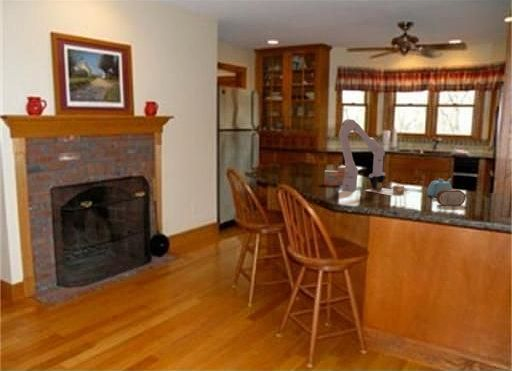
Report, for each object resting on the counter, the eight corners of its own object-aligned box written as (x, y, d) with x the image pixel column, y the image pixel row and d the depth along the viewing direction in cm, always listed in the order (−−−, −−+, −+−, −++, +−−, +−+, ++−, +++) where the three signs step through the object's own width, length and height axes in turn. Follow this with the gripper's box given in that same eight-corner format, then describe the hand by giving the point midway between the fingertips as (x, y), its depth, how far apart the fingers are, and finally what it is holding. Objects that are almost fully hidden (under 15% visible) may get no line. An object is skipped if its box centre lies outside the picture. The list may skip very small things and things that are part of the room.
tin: (462, 204, 237) (464, 189, 236) (465, 206, 234) (467, 190, 233) (435, 204, 237) (436, 189, 235) (437, 205, 234) (439, 190, 232)
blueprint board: (410, 193, 266) (410, 192, 266) (395, 196, 256) (395, 195, 256) (379, 188, 283) (379, 187, 283) (364, 191, 273) (364, 190, 273)
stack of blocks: (324, 185, 294) (324, 167, 292) (324, 183, 300) (324, 165, 298) (356, 186, 291) (357, 167, 288) (356, 184, 297) (357, 166, 294)
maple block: (403, 193, 263) (404, 186, 262) (399, 194, 260) (399, 187, 259) (397, 192, 267) (397, 185, 266) (392, 193, 264) (393, 186, 263)
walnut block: (381, 189, 275) (382, 182, 274) (377, 190, 272) (377, 183, 271) (375, 188, 278) (376, 181, 278) (371, 189, 276) (371, 182, 275)
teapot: (460, 179, 256) (443, 181, 246) (459, 197, 258) (441, 200, 248) (441, 176, 266) (423, 178, 256) (439, 193, 268) (421, 196, 258)
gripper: (376, 168, 265) (374, 190, 267) (390, 166, 274) (388, 187, 277) (366, 166, 270) (365, 188, 273) (380, 165, 280) (379, 186, 282)
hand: (376, 188), depth 275 cm, fingers open, 5 cm apart
